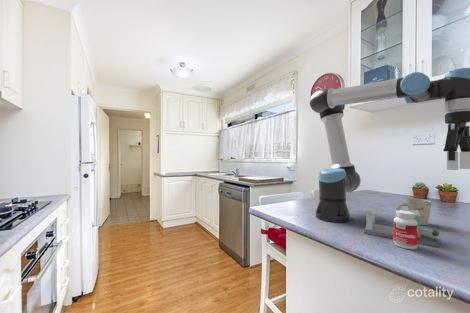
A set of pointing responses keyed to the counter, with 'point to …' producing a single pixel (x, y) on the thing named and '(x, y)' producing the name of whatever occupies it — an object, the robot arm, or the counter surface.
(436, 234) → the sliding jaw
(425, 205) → the mug
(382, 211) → the counter surface
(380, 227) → the vise base
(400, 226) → the pill bottle
